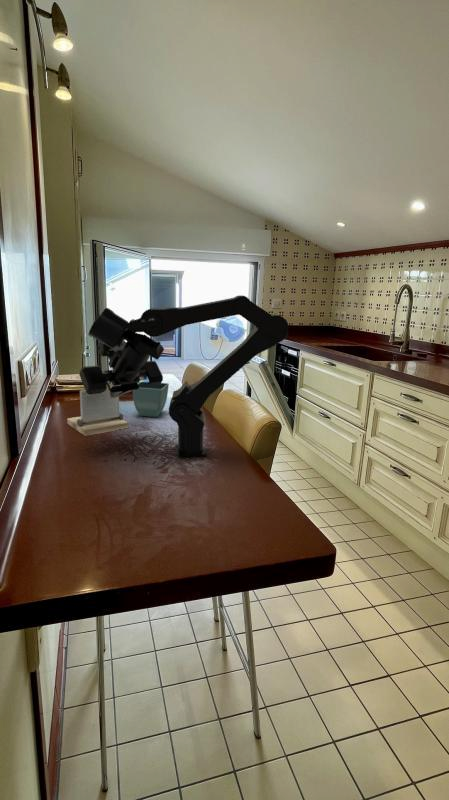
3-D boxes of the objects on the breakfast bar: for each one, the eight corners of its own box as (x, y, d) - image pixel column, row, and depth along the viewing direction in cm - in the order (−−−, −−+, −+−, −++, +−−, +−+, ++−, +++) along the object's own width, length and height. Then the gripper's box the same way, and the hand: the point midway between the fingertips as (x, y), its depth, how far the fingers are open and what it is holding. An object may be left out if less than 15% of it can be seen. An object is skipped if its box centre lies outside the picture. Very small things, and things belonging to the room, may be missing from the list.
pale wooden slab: (128, 428, 113) (128, 417, 113) (85, 436, 106) (84, 424, 105) (108, 417, 122) (108, 407, 121) (67, 423, 115) (66, 413, 114)
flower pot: (169, 411, 130) (169, 382, 128) (162, 419, 122) (162, 389, 120) (140, 409, 131) (140, 381, 129) (131, 417, 123) (131, 387, 120)
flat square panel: (119, 419, 115) (119, 384, 112) (83, 425, 108) (81, 388, 106) (117, 418, 116) (116, 383, 114) (80, 424, 110) (79, 387, 107)
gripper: (156, 327, 102) (134, 366, 113) (80, 329, 90) (63, 373, 101) (175, 365, 98) (150, 401, 109) (98, 372, 86) (78, 412, 97)
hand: (112, 396), depth 104 cm, fingers closed
